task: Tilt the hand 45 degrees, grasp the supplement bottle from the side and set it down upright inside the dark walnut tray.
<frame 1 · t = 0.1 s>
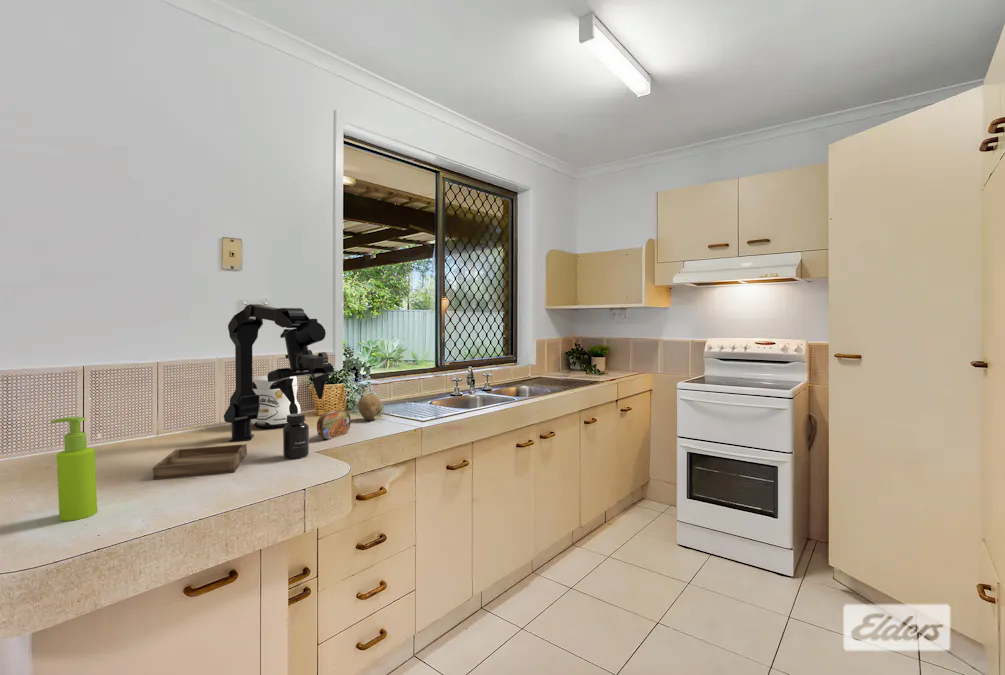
hand: (307, 401, 146), 15 cm above the counter, tool pointing down, fingers open, 9 cm apart
soap dispenser: (76, 516, 102), on the counter
supplement bottle: (296, 456, 144), on the counter
milk container: (275, 425, 186), on the counter
tin: (334, 436, 168), on the counter
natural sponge: (370, 420, 194), on the counter
walnut tray: (204, 465, 135), on the counter
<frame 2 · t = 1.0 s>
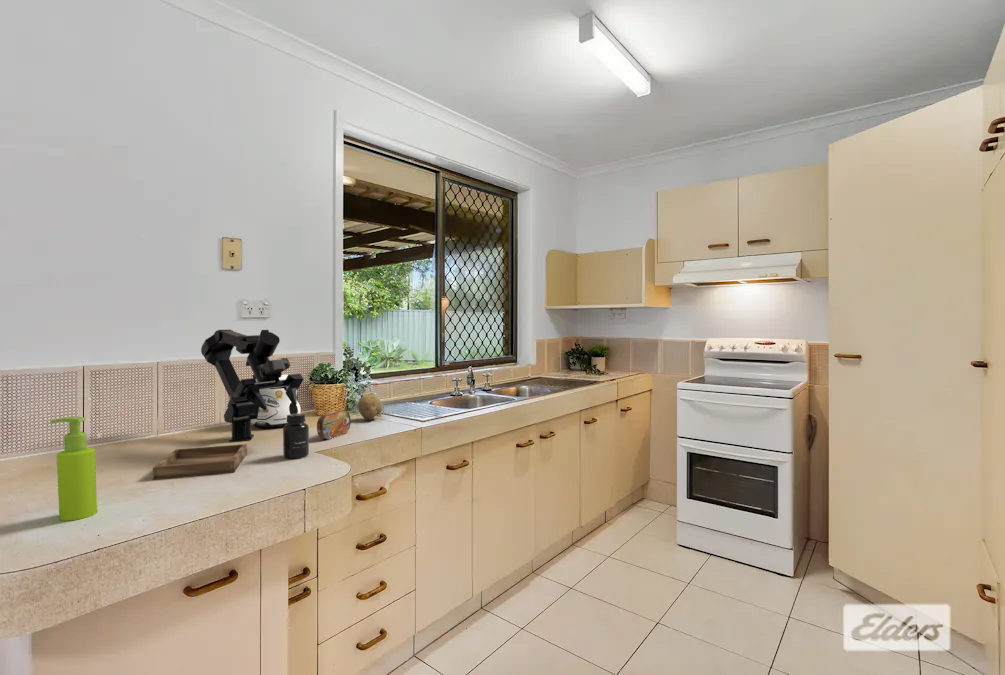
hand: (281, 406, 148), 13 cm above the counter, tool tilted 45°, fingers open, 9 cm apart
nothing on the counter moved.
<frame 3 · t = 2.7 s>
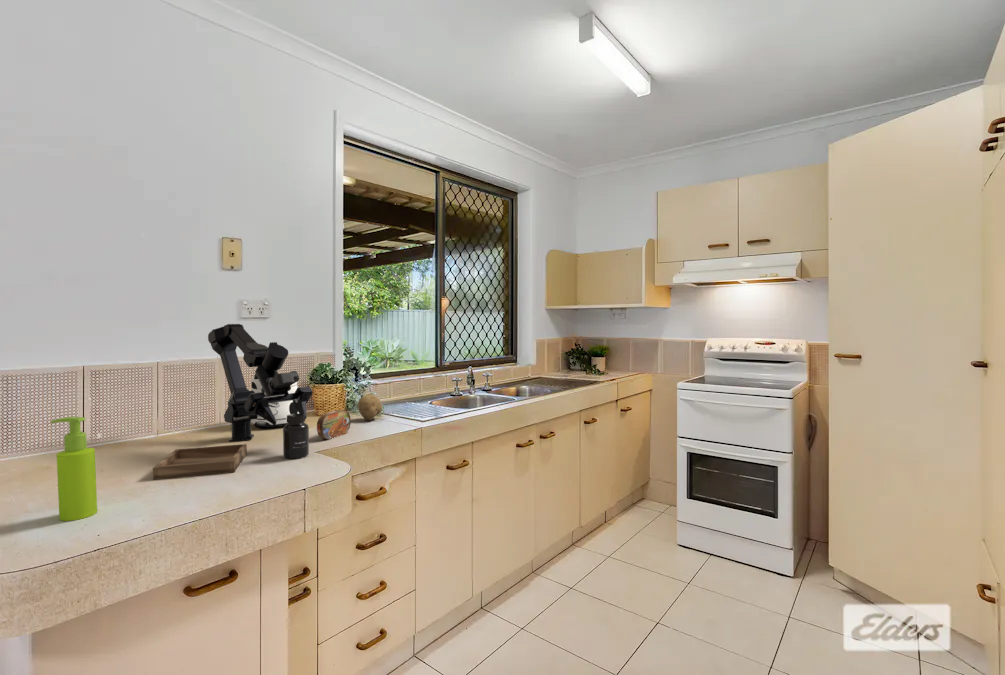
hand: (290, 421, 145), 10 cm above the counter, tool tilted 45°, fingers open, 9 cm apart
nothing on the counter moved.
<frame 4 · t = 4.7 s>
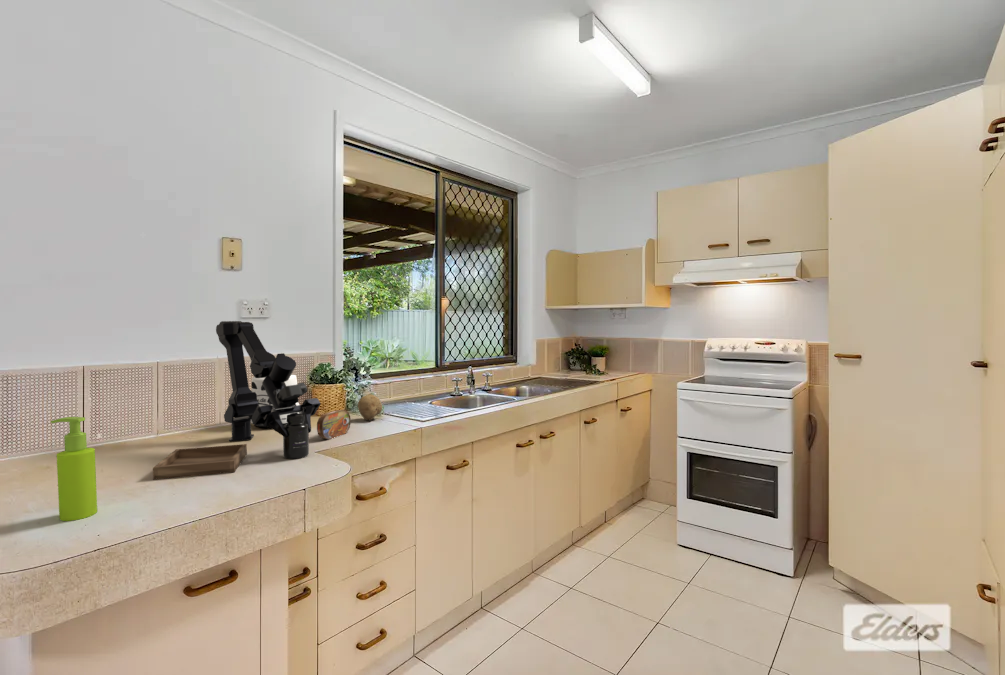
hand: (298, 434, 143), 7 cm above the counter, tool tilted 45°, fingers closed on supplement bottle, 7 cm apart
supplement bottle: (296, 456, 144), on the counter, touching gripper
everything else where it was.
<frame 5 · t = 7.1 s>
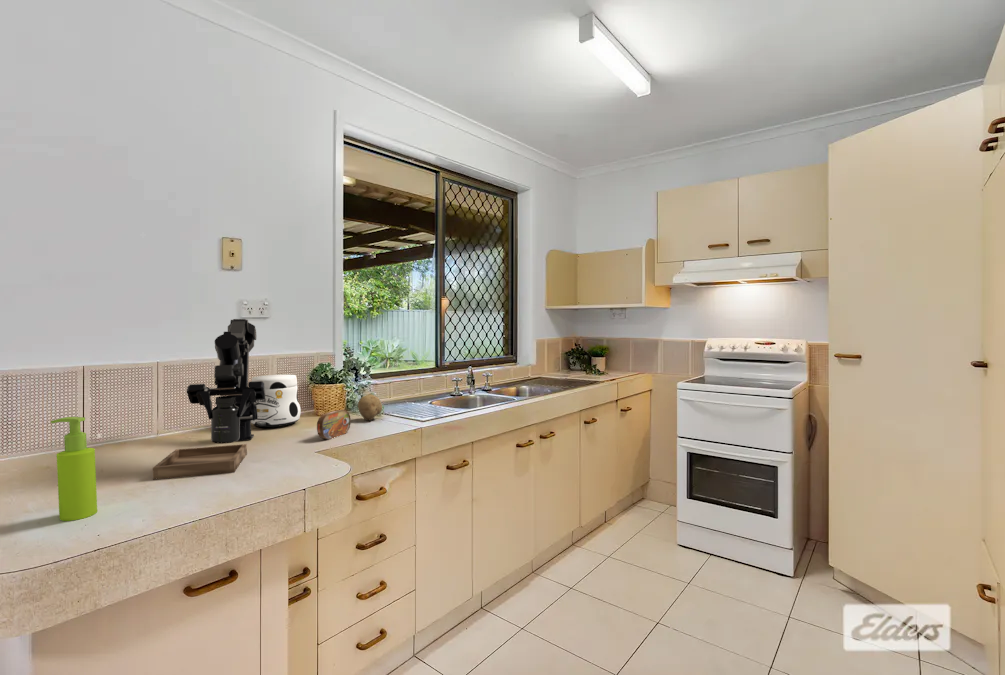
hand: (224, 417, 134), 13 cm above the counter, tool tilted 45°, fingers closed on supplement bottle, 7 cm apart
supplement bottle: (226, 441, 136), point 6 cm above the counter, touching gripper
everything else where it was.
when the fingers open (8 cm above the counter, at t = 9.6 s): supplement bottle stays where it is, resting on walnut tray.
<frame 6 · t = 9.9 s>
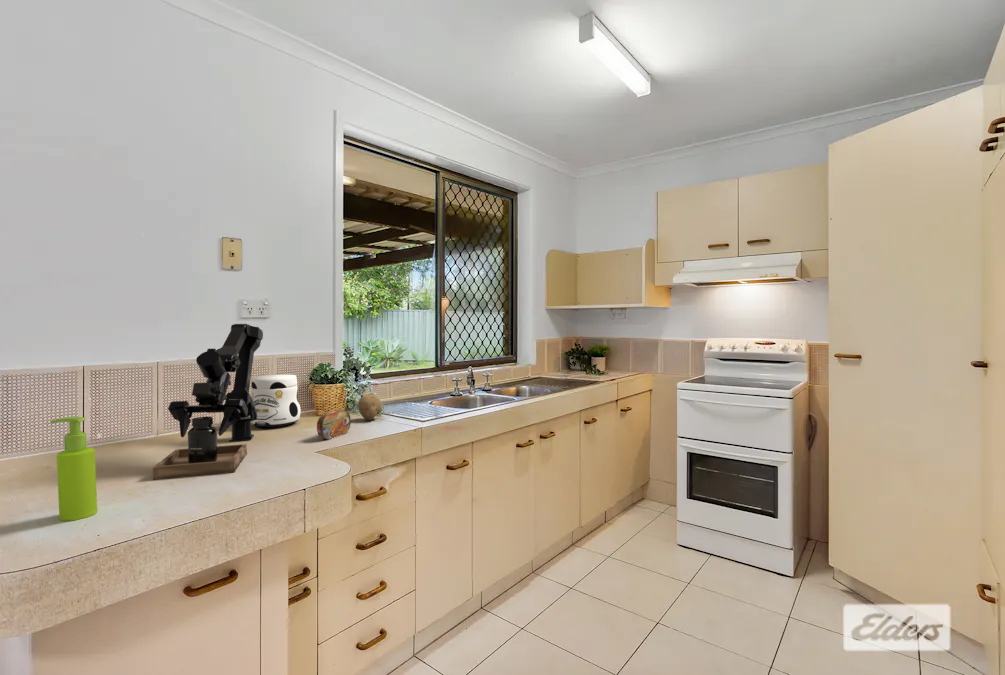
hand: (200, 435, 133), 9 cm above the counter, tool tilted 45°, fingers open, 9 cm apart
supplement bottle: (203, 462, 135), point 1 cm above the counter, touching walnut tray
everything else where it was.
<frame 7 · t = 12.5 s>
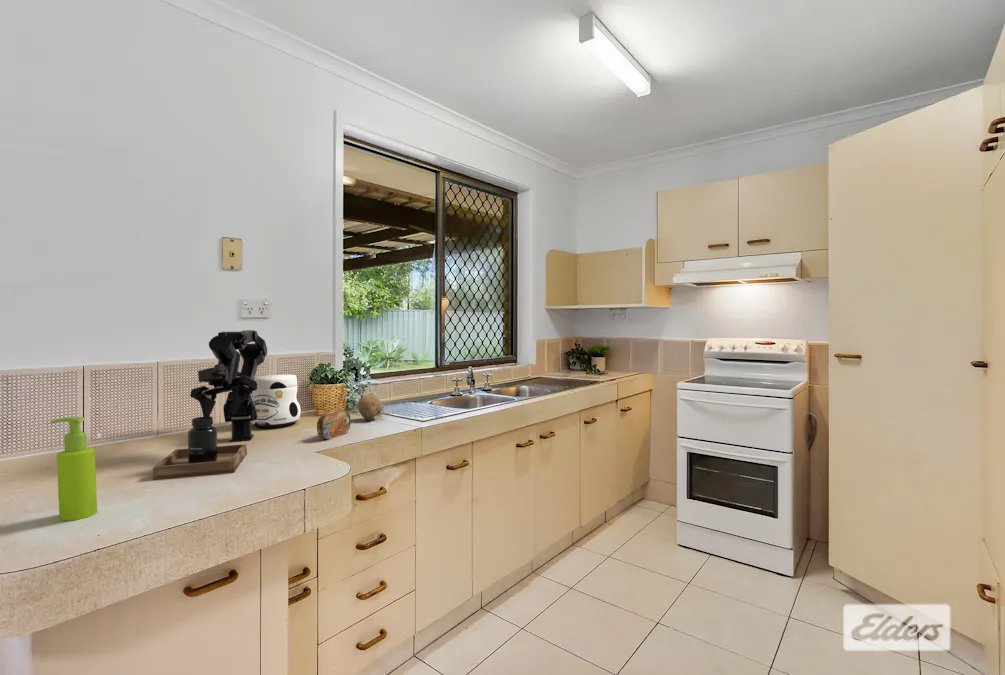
hand: (219, 416, 144), 12 cm above the counter, tool tilted 35°, fingers open, 9 cm apart
nothing on the counter moved.
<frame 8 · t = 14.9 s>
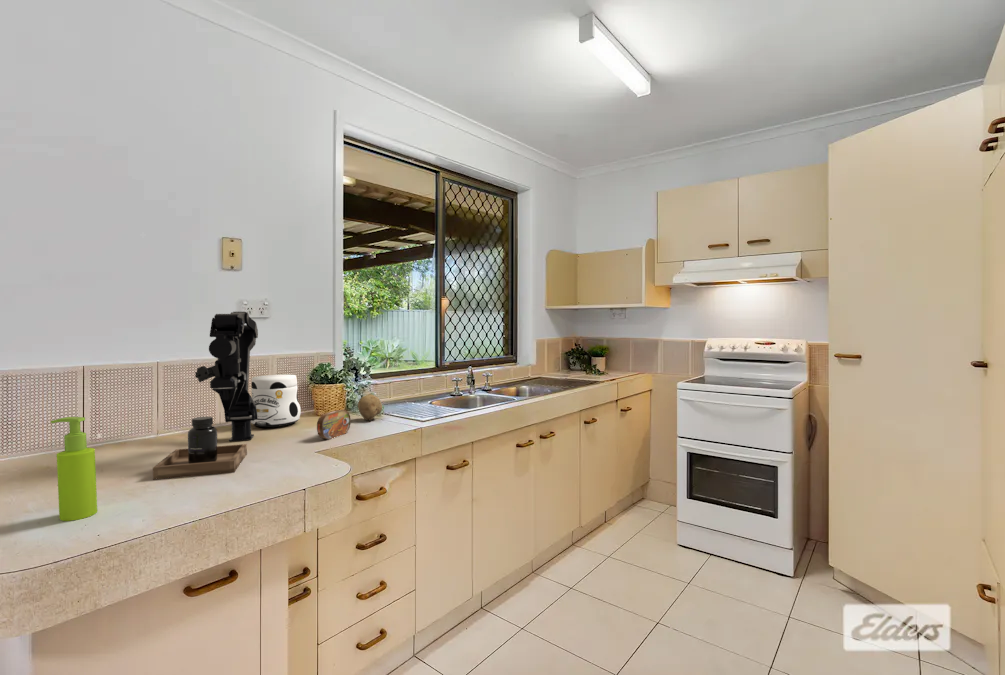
hand: (230, 408, 149), 13 cm above the counter, tool pointing down, fingers open, 9 cm apart
nothing on the counter moved.
at the end: supplement bottle inside the target area on the walnut tray (0.3 cm from its centre), point 0.8 cm above the walnut tray's base; supplement bottle tilted 0°; the gripper is holding nothing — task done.
